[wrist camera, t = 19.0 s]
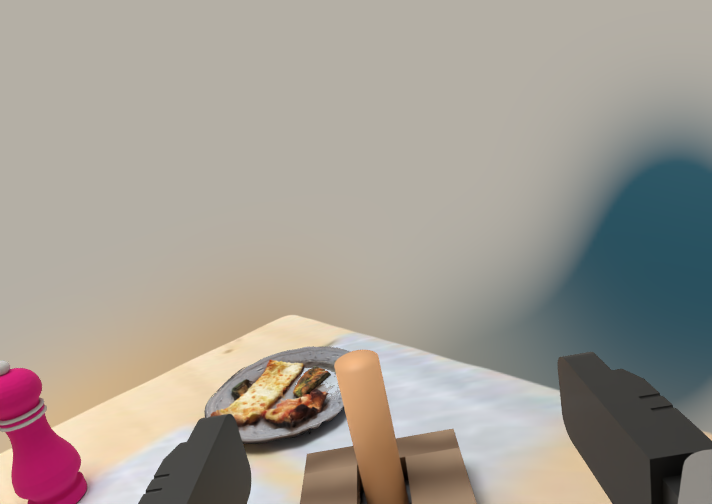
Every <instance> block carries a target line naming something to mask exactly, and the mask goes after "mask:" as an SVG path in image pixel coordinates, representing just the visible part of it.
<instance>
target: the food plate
mask: <svg viewBox="0 0 712 504" xmlns="http://www.w3.org/2000/svg"><path fill="white" fill-rule="evenodd" d="M331 347H332V346H331ZM331 347H326V346H325V347H314V346H313V347H304V348H300V349H294V350H287V351H284V352H280V353H277V354H274V355H271V356H268V357H266V358H263V359H261V360H259V361H258V362H256V363H254V364H252V365H250V366H248V367H246V368H245V367H244V368H245V369H244V370H243V371H241V370H242V369H243V368H242V369H241V370H239V371H238V372H239V373H238V372H237V373H238V374H237V373H236V374H237V375H236V374H234V375H233V376H232V377H231V378H230V379H228V381H227V382H225V383H224V385H222V386H221V387H220V388H219V389H220V390H219V389H218V390H217V393H215V394H214V396H213V397H211V398H210V400H209V401H208V403H207V404H206V407H205V411H204V412H205V418H207V417H213V416H218V415H224V414H232V415H233V416H234V418H235V420H236V423H237V426H238V429H239V433H240V436H241V439H242V442H243V444H247V443H248V444H254V443H255V444H257V443H264V442H269V441H272V440H277V439H281V438H291V437H292V438H293V437H295V436H297V435H298V434H302V433H305V432H307V431H309V432H310V430H308V429H309V428H312V430H313V429H316V428H318V427H319V426H320V425H321V423H322V422H323V421H325V420H326V421H327V422H328V421H331V420H332V419H333V418H334V417H335V416H336V415H337V414H338V413H339V412H340V411H341V410H343V409H341V408H343V407H344V405H343V401H342V396H341V393H340V395H339V396H338V395H337V394H339V392H340V391H338V389H337V391H335V393H337V392H338V393H337V394H336V395H334V394H335V393H333V394H331V393H327V392H328V391H329V389H332V388H333V386H334V385H333V386H331V385H330V387H328V388H326V386H324V385H325V384H322V385H320V384H321V383H323V381H324V380H325V379H326V378H328V376H330V375H331V374H330V373H329V372H328V371H325V369H327V370H331V372H334V374H336V371H335V367H334V364H335V362H336V360H337V359H338V358H340V357H341V356H343V355H344V354H346V353H349V351H347V350H343V349H340V348H333V347H332V348H331ZM304 368H312V369H309V370H308V371H306V372H305V373H304V375H303V376H302V377H301V376H300V375H301V374H302V372H303V371H302V370H303V369H304ZM300 377H301V378H300ZM334 377H335V376H334ZM299 378H300V379H299ZM298 379H299V380H298ZM297 381H298V382H297ZM296 382H297V385H296ZM325 383H326V382H325ZM295 385H296V386H295ZM338 386H339V384H338ZM337 388H339V387H337ZM330 394H331V396H330V397H328V396H329V395H330ZM332 395H334V396H332ZM332 397H333V398H332ZM335 397H336V398H335ZM329 398H330V399H331V400H330V399H329ZM334 399H336V400H334ZM329 400H330V401H329ZM331 404H332V405H331ZM309 434H310V433H309Z"/></svg>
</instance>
